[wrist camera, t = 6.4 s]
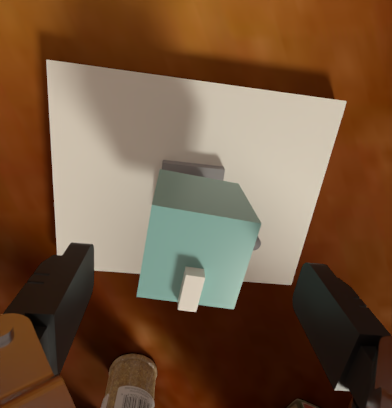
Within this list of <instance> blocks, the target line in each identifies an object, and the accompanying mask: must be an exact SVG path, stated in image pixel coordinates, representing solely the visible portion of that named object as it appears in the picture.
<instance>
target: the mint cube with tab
mask: <svg viewBox="0 0 392 408" xmlns="http://www.w3.org/2000/svg"><path fill="white" fill-rule="evenodd" d="M261 224H262V223H261V222H260V220H259V218H258V216H257V215H256V213H255V211H254V210H253V208H252V206H251V204H250V203H249V201H248V199H247V197H246V196H245V194H244V192H243V191H242V189H241V187H240V185H239V184H238V183H232V182H227V181H222V180H216V179H211V178H206V177H200V176H195V175H189V174H184V173H179V172H173V171H168V170H163V169H160V170H159V175H158V179H157V184H156V188H155V193H154V197H153V201H152V206H151V212H150V218H149V224H148V230H147V236H146V243H145V249H144V255H143V261H142V267H141V273H140V279H139V285H138V291H137V297H142V298H150V299H158V300H165V301H173V302H178V310H182V311H190V312H196V311H197V307H198V305H203V306H211V307H219V308H226V309H234V308H235V304H236V301H237V298H238V295H239V292H240V289H241V286H242V283H243V280H244V277H245V273H246V270H247V267H248V264H249V261H250V258H251V255H252V252H253V249H254V246H255V242H256V239H257V236H258V233H259V230H260V227H261Z"/></svg>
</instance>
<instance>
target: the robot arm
mask: <svg viewBox="0 0 392 408" xmlns="http://www.w3.org/2000/svg"><path fill="white" fill-rule="evenodd" d="M93 285H94V246H93V244H86V243H74V242H72V243H70V245H69V246H68V248H67V249H66V251H65V252H64V254H63V255H53V256H51V257H49V258H48V259H46V260H45V261H43V262H42V263H41V264H40V265H39V266H38V268H37V269H36V270H35V272H34V274H33V275H32V276H31V277H30V278H29V280H28V282H27V283H26V284H25V285H24V286H23V288H22V289H21V290H20V292H19V293H18V294H17V296H16V297H15V298H14V300H13V301H12V302H11V304H10V305H9V306H8V308H7V309H6V310H5V312H4V313H3V314H2V315H0V408H76V407H75V405H74V403H73V401H72V398H71V396H70V394H69V392H68V389H67V387H66V385H65V383H64V381H63V379H62V377H61V376H60V372H61V370H62V367H63V365H64V362H65V360H66V357H67V355H68V352H69V350H70V347H71V345H72V342H73V340H74V337H75V335H76V332H77V330H78V327H79V325H80V322H81V320H82V317H83V315H84V313H85V310H86V308H87V305H88V303H89V300H90V298H91V295H92V291H93ZM293 308H294V311H295V313H296V315H297V317H298V319H299V321H300V323H301V325H302V327H303V329H304V331H305V333H306V335H307V337H308V339H309V341H310V343H311V345H312V347H313V349H314V351H315V353H316V355H317V357H318V359H319V361H320V363H321V365H322V367H323V369H324V371H325V373H326V375H327V377H328V379H329V381H330V383H331V385H332V387H333V389H334V390H335V391H350V392H351V394H352V396H353V397H352V399H351V401H350V403H349V407H348V408H392V336H391V335H390V333H389V332H388V331H387V330H386V329H385V327H384V326H383V325H382V324H381V323H380V321H379V320H378V319H377V318H376V317H375V315H374V314H373V313H372V312H371V311H370V309H369V308H366V305H365V303H364V302H363V301H362V300H361V299H359V296H358V295H357V294H356V293H355V291H354V290H353V289H352V288H351V287H350V286H349V285H347V284H346V283H345V282H343V281H342V280H341V279H339V278H337V277H336V276H335V275H334V273H333V272H332V271H331V270H330V268H329V267H328V266H327V265H325V264H316V263H305V264H304V265H303V266H302V269H301V272H300V275H299V278H298V281H297V284H296V287H295V291H294V294H293Z"/></svg>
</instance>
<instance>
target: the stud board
mask: <svg viewBox="0 0 392 408" xmlns="http://www.w3.org/2000/svg"><path fill="white" fill-rule="evenodd" d="M46 66H47V84H48V102H49V120H50V138H51V156H52V174H53V192H54V209H55V227H56V245H57V255H63V254H64V252H65V251H66V249H67V248H68V246H69V245H70V243H72V242H74V243H86V244H93V246H94V270H95V271H108V272H122V273H135V274H140V273H141V267H142V261H143V255H144V249H145V243H146V236H147V230H148V224H149V218H150V212H151V206H152V201H153V197H154V193H155V188H156V184H157V179H158V175H159V170H160V169H163V170H168V171H173V172H179V173H184V174H189V175H195V176H200V177H206V178H211V179H216V180H222V181H227V182H232V183H238V184H239V185H240V187H241V189H242V191H243V192H244V194H245V196H246V197H247V199H248V201H249V203H250V204H251V206H252V208H253V210H254V211H255V213H256V215H257V216H258V218H259V220H260V222H261V223H262V224H261V227H260V230H259V233H258V236H257V239H256V242H255V246H254V249H253V252H252V255H251V258H250V261H249V264H248V267H247V270H246V273H245V277H244V280H243V282H256V283H270V284H283V285H292V281H293V278H294V275H295V271H296V268H297V265H298V261H299V258H300V255H301V251H302V248H303V245H304V241H305V238H306V235H307V231H308V228H309V225H310V222H311V218H312V215H313V212H314V208H315V205H316V202H317V198H318V195H319V192H320V188H321V185H322V182H323V178H324V175H325V172H326V168H327V165H328V162H329V159H330V155H331V152H332V149H333V145H334V142H335V139H336V135H337V132H338V129H339V125H340V122H341V119H342V115H343V112H344V109H345V105H346V102H347V101H342V100H335V99H328V98H320V97H313V96H306V95H299V94H292V93H284V92H277V91H270V90H263V89H256V88H248V87H241V86H234V85H227V84H220V83H212V82H205V81H198V80H191V79H184V78H176V77H169V76H162V75H155V74H148V73H140V72H133V71H126V70H119V69H112V68H104V67H97V66H90V65H83V64H76V63H68V62H61V61H54V60H47V59H46Z"/></svg>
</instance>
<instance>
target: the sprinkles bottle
mask: <svg viewBox="0 0 392 408" xmlns="http://www.w3.org/2000/svg"><path fill="white" fill-rule="evenodd" d="M156 377H157V368H156V365H155V363H154V362H153V361H152V360H151V359H149V358H148V357H146V356H143V355H139V354H127V355H123V356H120V357H118V358H117V359H116V360H115V361H114V362H113V363H112V365H111V367H110V369H109V379H108V384H107V388H106V393H105V397H104V399H103V402H102V406H101V408H154V391H155V380H156Z"/></svg>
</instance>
